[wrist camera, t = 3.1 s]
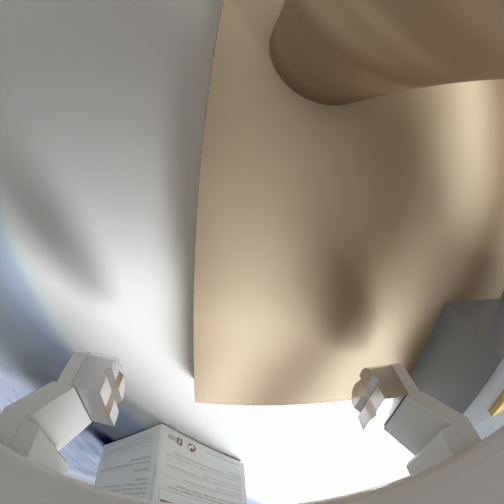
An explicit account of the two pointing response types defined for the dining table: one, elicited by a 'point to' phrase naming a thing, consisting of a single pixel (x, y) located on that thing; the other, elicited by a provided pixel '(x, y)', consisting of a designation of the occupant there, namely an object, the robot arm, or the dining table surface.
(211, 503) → the supplement box
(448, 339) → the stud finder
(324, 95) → the marker peg
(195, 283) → the plywood board
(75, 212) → the dining table surface
